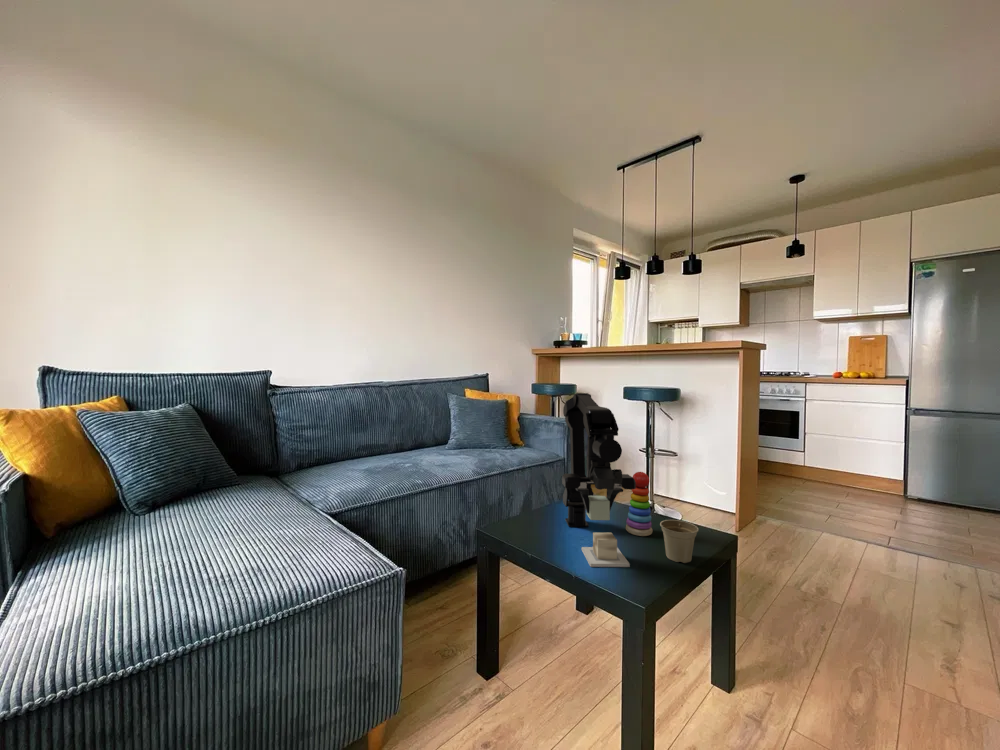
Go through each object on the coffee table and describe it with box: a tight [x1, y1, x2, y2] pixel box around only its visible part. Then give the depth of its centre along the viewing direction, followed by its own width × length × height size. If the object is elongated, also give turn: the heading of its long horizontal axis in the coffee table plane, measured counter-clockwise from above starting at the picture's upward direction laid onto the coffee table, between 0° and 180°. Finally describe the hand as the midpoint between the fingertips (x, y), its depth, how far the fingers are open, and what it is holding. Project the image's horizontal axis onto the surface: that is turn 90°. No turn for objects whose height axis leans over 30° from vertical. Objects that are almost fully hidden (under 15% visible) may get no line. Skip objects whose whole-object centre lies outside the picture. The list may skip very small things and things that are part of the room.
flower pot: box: [659, 519, 699, 564], centre depth 109 cm, size 9×9×9 cm
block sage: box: [586, 495, 611, 521], centre depth 110 cm, size 5×5×5 cm
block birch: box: [592, 532, 618, 559], centre depth 108 cm, size 5×5×5 cm
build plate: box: [581, 546, 631, 568], centre depth 108 cm, size 10×10×1 cm
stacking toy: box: [625, 471, 654, 537], centre depth 127 cm, size 8×8×19 cm
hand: (597, 513), depth 110 cm, fingers closed on block sage, 5 cm apart
